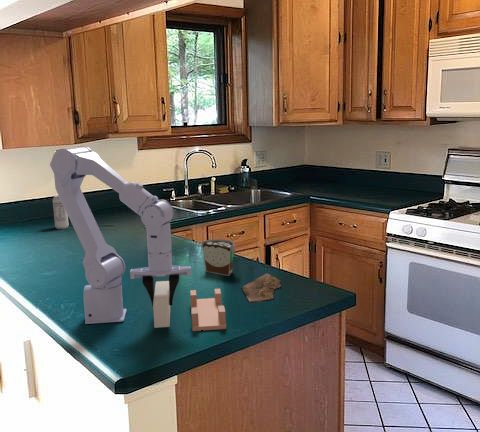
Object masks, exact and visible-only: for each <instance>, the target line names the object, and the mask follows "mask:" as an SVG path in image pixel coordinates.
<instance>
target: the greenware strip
mask: <svg viewBox="0 0 480 432" xmlns="http://www.w3.org/2000/svg"><path fill="white" fill-rule="evenodd" d="M169 298H170V291H169V280H158V281H155V284H154V300H153V306H152V309H153V326H154V327H153V328H155V329H156V328H169V327H171V326H170V321H171V305H169Z"/></svg>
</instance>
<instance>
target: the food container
mask: <svg viewBox="0 0 480 432" xmlns="http://www.w3.org/2000/svg"><path fill="white" fill-rule="evenodd" d="M200 247H201V248H202V250H203V253H202V254H203V260H204V268H205V272H206V273H212V274H216V275H221V276H228V277H230V276H232V274H233V266H234V252H235V251H236V246H235V243H234V241H232V240H229V239H222V238H221V239H219V238H218V239H217V238H216V239H215V238H214V239H208V240H206V239H205V240H203V241H201V246H200Z"/></svg>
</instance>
